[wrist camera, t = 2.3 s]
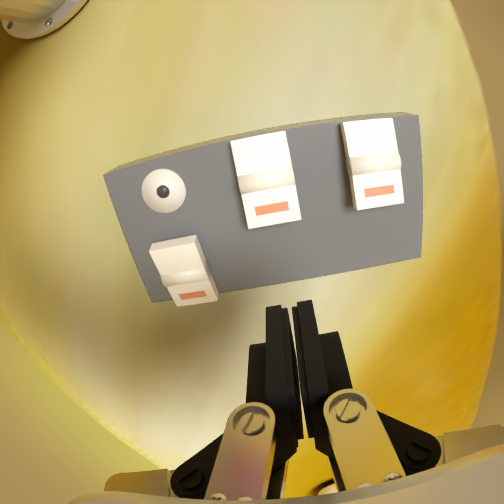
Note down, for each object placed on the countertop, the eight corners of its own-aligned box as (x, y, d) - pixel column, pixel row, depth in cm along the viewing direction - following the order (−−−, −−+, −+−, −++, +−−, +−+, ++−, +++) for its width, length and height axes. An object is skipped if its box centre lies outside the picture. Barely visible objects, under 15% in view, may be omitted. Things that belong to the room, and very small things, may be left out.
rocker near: (338, 124, 20) (344, 122, 18) (385, 119, 19) (393, 117, 18) (352, 206, 22) (358, 211, 20) (397, 200, 21) (405, 203, 20)
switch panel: (118, 165, 24) (101, 175, 21) (401, 112, 22) (419, 115, 19) (160, 284, 30) (151, 304, 27) (407, 241, 27) (421, 258, 24)
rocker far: (152, 241, 23) (147, 254, 22) (196, 232, 23) (194, 245, 22) (179, 295, 27) (176, 309, 26) (218, 290, 26) (217, 303, 25)
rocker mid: (232, 141, 21) (229, 141, 19) (284, 131, 20) (285, 130, 19) (249, 224, 22) (248, 230, 21) (299, 215, 22) (301, 220, 21)
